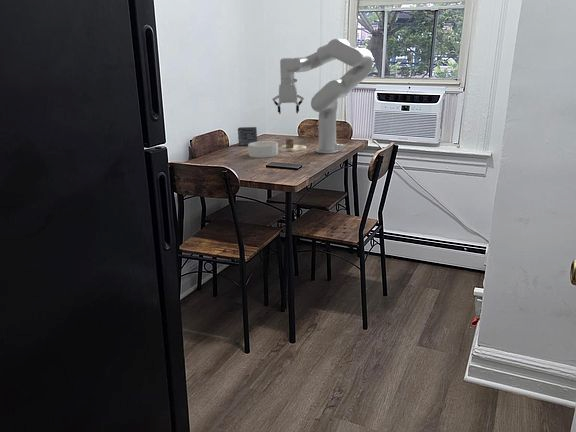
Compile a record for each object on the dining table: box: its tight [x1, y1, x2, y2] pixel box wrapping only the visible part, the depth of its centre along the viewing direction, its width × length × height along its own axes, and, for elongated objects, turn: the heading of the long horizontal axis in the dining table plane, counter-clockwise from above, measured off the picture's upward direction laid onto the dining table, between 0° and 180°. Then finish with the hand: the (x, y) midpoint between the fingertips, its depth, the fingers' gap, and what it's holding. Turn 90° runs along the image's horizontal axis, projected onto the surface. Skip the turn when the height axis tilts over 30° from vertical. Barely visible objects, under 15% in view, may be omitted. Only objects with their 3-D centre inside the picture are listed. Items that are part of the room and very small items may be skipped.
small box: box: [237, 126, 258, 147], centre depth 306 cm, size 11×6×10 cm, turn 84°
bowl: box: [247, 140, 279, 159], centre depth 276 cm, size 16×16×6 cm
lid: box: [278, 137, 307, 153], centre depth 291 cm, size 19×19×6 cm
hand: (288, 113), depth 286 cm, fingers open, 9 cm apart
